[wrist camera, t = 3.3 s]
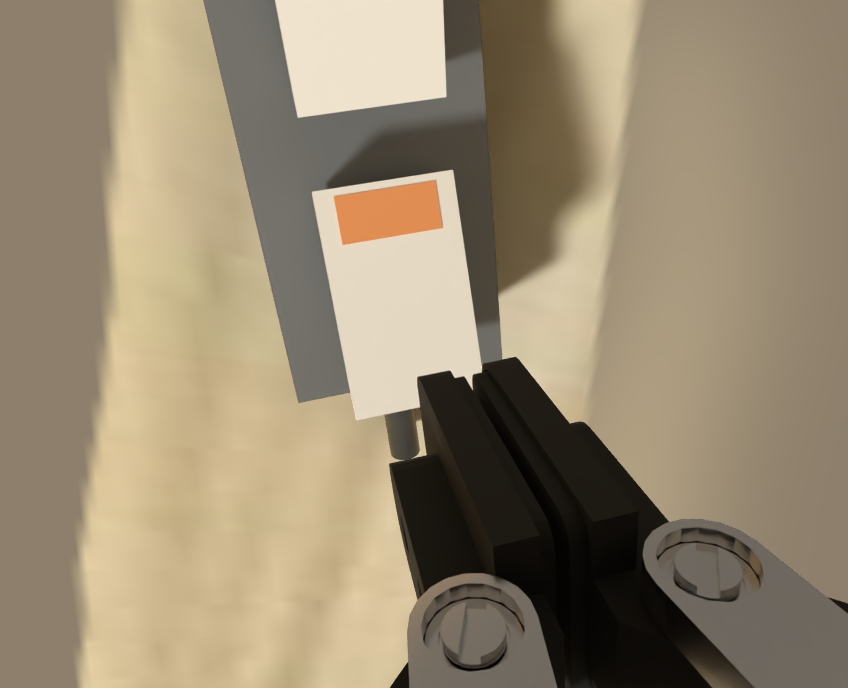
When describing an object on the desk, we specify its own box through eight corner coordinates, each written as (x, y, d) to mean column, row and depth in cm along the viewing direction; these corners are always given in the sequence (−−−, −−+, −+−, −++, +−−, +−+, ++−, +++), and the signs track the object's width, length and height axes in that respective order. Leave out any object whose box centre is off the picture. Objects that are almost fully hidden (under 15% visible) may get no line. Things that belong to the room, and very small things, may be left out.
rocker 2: (468, 376, 19) (486, 393, 17) (351, 400, 18) (356, 421, 16) (438, 176, 18) (453, 169, 16) (312, 195, 17) (311, 191, 15)
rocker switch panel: (479, 414, 27) (521, 488, 23) (319, 448, 26) (327, 533, 22) (427, -182, 18) (478, -266, 14) (179, -163, 17) (141, -247, 13)
